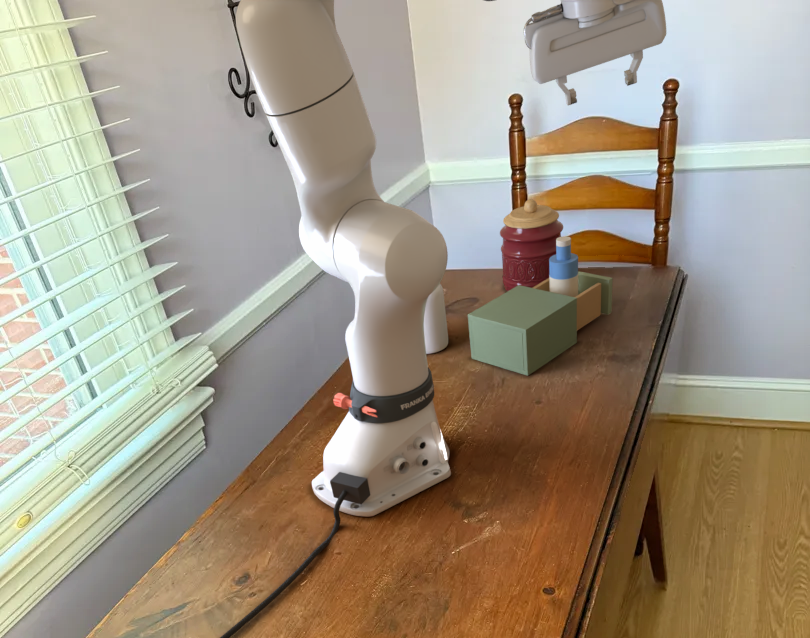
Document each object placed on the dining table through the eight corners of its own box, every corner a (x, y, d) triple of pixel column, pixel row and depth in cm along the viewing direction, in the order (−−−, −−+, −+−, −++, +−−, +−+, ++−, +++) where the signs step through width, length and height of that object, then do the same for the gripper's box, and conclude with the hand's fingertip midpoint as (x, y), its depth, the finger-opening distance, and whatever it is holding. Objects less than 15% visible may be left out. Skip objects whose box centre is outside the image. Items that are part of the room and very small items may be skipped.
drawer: (572, 293, 161) (572, 260, 156) (623, 304, 153) (624, 270, 149) (518, 326, 152) (516, 292, 148) (569, 340, 145) (569, 304, 141)
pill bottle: (456, 339, 154) (448, 263, 144) (436, 357, 149) (426, 280, 139) (422, 334, 157) (412, 260, 148) (400, 352, 152) (389, 277, 143)
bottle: (567, 322, 148) (566, 245, 139) (544, 317, 151) (542, 241, 142) (583, 312, 151) (584, 235, 142) (561, 306, 154) (560, 232, 145)
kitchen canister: (521, 270, 176) (517, 188, 165) (574, 276, 170) (574, 191, 159) (491, 293, 169) (486, 208, 158) (546, 300, 162) (544, 212, 151)
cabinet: (520, 328, 154) (518, 284, 148) (576, 342, 146) (577, 297, 140) (471, 358, 146) (467, 314, 141) (527, 375, 138) (525, 329, 133)
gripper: (525, 23, 114) (540, 121, 123) (667, -27, 110) (671, 78, 120) (517, 12, 118) (532, 108, 128) (654, -36, 115) (659, 65, 125)
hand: (601, 93), depth 124 cm, fingers open, 8 cm apart
